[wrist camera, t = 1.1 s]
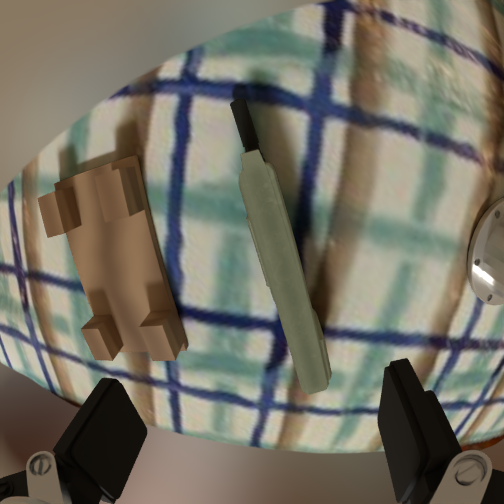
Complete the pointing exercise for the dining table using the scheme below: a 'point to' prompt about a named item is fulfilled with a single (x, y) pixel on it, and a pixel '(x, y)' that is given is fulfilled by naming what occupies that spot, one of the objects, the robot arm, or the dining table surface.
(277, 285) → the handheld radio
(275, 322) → the dining table surface
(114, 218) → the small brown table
